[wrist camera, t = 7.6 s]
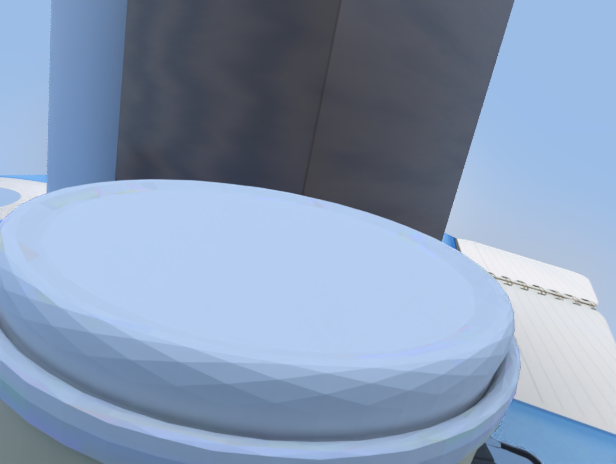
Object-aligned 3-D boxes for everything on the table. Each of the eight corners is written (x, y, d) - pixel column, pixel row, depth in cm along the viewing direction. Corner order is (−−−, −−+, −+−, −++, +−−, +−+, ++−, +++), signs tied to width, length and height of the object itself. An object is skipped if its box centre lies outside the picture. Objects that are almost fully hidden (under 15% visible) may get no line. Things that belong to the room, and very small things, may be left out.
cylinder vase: (200, 241, 47) (232, 5, 40) (122, 274, 35) (148, -51, 29) (111, 214, 50) (127, -10, 43) (13, 236, 38) (13, -66, 32)
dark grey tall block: (410, 344, 34) (515, -1, 27) (254, 436, 21) (375, -177, 14) (266, 263, 45) (313, 4, 38) (106, 292, 32) (133, -92, 25)
